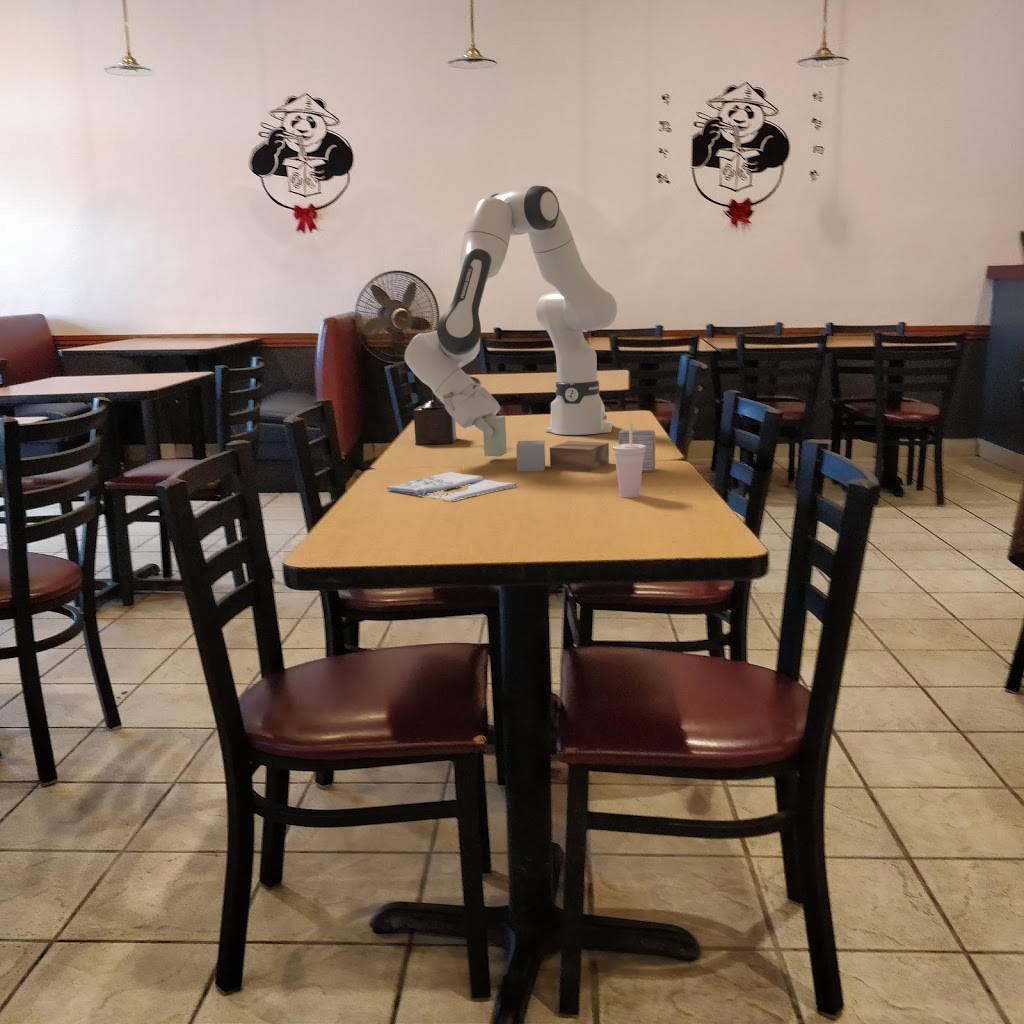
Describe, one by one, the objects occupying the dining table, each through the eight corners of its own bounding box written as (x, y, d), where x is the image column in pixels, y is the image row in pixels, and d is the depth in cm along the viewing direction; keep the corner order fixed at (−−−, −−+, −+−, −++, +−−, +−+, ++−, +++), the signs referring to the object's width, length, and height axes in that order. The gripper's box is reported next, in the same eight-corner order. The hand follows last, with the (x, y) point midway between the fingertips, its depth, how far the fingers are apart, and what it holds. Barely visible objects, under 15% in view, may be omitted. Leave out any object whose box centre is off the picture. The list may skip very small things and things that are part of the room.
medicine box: (654, 468, 211) (654, 429, 209) (655, 472, 206) (655, 432, 204) (618, 469, 212) (618, 430, 210) (618, 472, 207) (618, 433, 205)
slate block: (519, 466, 219) (518, 440, 218) (545, 466, 219) (544, 440, 217) (517, 471, 213) (516, 445, 212) (544, 471, 213) (543, 444, 211)
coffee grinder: (413, 445, 255) (409, 377, 251) (420, 439, 266) (416, 374, 262) (471, 444, 254) (468, 376, 250) (475, 437, 265) (472, 372, 260)
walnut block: (569, 461, 224) (569, 440, 223) (608, 464, 219) (608, 442, 218) (550, 469, 215) (549, 447, 214) (590, 472, 211) (590, 449, 209)
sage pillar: (491, 452, 231) (489, 415, 229) (506, 453, 229) (505, 415, 227) (484, 456, 226) (482, 418, 224) (500, 456, 225) (498, 418, 223)
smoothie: (625, 500, 180) (624, 427, 176) (606, 495, 185) (605, 423, 182) (653, 496, 182) (653, 423, 179) (633, 491, 188) (633, 420, 185)
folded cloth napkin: (454, 479, 210) (454, 469, 209) (519, 490, 196) (519, 479, 195) (385, 493, 197) (384, 483, 197) (449, 506, 183) (448, 495, 182)
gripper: (448, 386, 217) (490, 429, 216) (480, 377, 235) (519, 417, 234) (431, 405, 219) (472, 448, 218) (464, 395, 238) (502, 434, 237)
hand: (497, 432), depth 226 cm, fingers closed on sage pillar, 4 cm apart
